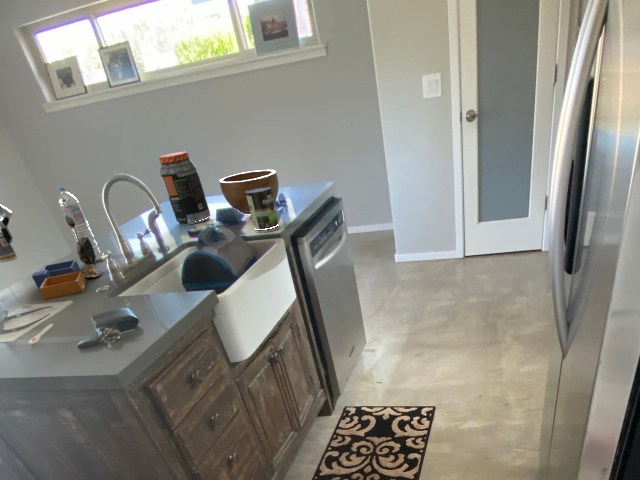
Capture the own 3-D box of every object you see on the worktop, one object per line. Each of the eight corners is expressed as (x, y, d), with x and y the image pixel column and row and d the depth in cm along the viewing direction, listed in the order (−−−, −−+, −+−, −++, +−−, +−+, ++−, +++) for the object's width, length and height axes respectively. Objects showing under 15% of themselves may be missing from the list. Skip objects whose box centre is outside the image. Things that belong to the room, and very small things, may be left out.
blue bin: (44, 284, 187) (39, 273, 184) (49, 275, 195) (44, 265, 192) (76, 277, 188) (71, 267, 186) (80, 269, 196) (75, 259, 194)
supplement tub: (213, 214, 245) (194, 148, 228) (209, 222, 233) (188, 153, 216) (180, 219, 245) (158, 154, 228) (174, 227, 233) (151, 159, 216)
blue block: (39, 289, 182) (31, 276, 178) (41, 286, 185) (34, 272, 182) (52, 287, 182) (45, 273, 179) (54, 283, 186) (47, 269, 183)
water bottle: (101, 256, 208) (69, 184, 191) (105, 259, 203) (72, 186, 186) (84, 261, 205) (50, 188, 188) (87, 264, 201) (52, 190, 184)
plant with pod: (111, 269, 191) (84, 208, 178) (95, 279, 183) (65, 216, 170) (91, 271, 193) (63, 210, 179) (74, 281, 184) (44, 219, 171)
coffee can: (285, 225, 212) (276, 186, 202) (269, 233, 205) (259, 192, 196) (265, 225, 216) (256, 186, 207) (249, 232, 210) (239, 192, 200)
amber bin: (44, 299, 172) (38, 288, 170) (50, 288, 181) (45, 278, 179) (82, 291, 174) (77, 280, 172) (86, 281, 183) (81, 270, 181)
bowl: (263, 222, 221) (253, 181, 211) (218, 222, 230) (207, 183, 220) (295, 207, 236) (287, 168, 226) (251, 208, 246) (242, 171, 236)
